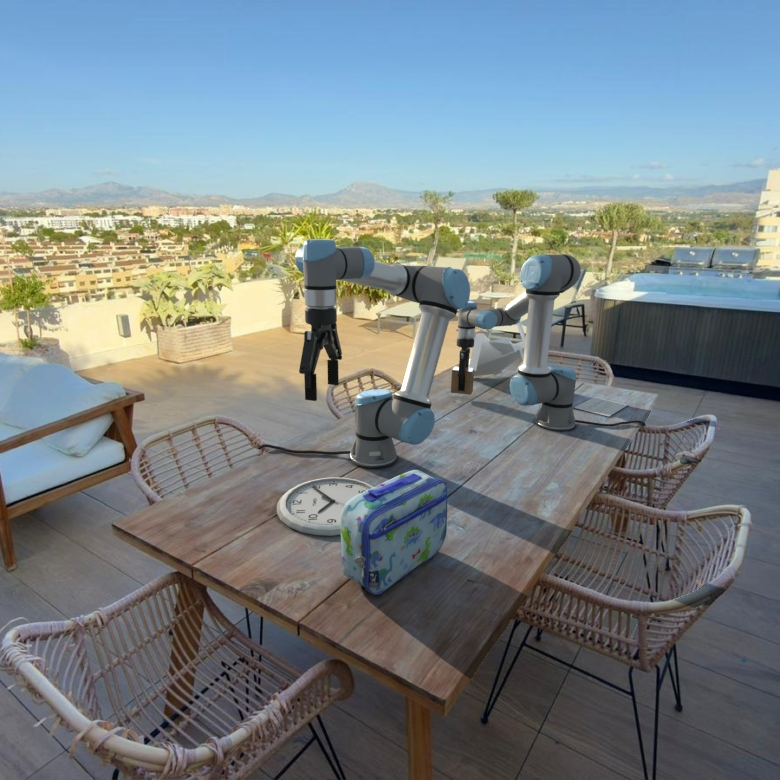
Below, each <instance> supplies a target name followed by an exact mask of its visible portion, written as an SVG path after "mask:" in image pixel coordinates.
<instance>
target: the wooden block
mask: <svg viewBox="0 0 780 780" xmlns="http://www.w3.org/2000/svg"><path fill="white" fill-rule="evenodd" d="M458 374H459V366H453V368H452V369H451V380H450V381H451V382H450V393H451V394H460V395H469V396H470V395H472V393H473V391H474V379H475V376H474V368H467V367H466V370H465V390H464V391H459V390H458V384H459V376H457V375H458Z"/></svg>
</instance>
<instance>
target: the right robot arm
mask: <svg viewBox="0 0 780 780" xmlns="http://www.w3.org/2000/svg"><path fill="white" fill-rule="evenodd" d="M581 275H582V268H581V264H580V262H579V260H578V259H577V258H576V257H574V256H572V255H571V254H563V253H561V254H543V253H542V254H536V255H531V256H530V257H529V258H527V260H525V261H524V263H523V264H522V266H521V269H520V273H519V281H520V283H521V286H522V287H523V288H524V289H525V291H524V292H523V293H521V294H520V295H519V296H517V297H516V298H515V299H513V300H512V301H510V302H509V303H508V304H506V305H505V306H503V307H499V308H484V309H482V308H478V303H477V302H476V301H473V300H468V303H467V304H466V305H465V307H464V308H462V309H458V310H457V314H458V315H457V328H456V329H455V331H456V332H457V333H456V334H457V336H456V337H457V338H456V346H457V347H458V348H461V349H460V350H459V355H458V356H459V360H458V367H459V374H458V375H457V376H459V384H458V390H459V391H464V390H465V370H466V367H467V368H469V359H470V355H471V354H470V353H471V348H473V346H474V341H475V336H476V328H479V329H481V330H489V331H490V330H492V329H493V328H495V327H507V326H508V327H511V326H515V325H517V324H518V323H519V321H521V319H522V317H524V316H525V315H527V318H526V328H525V347H524V358H523V361H522V363H521V365H519V366H517V374H516V375H514V376H513V377H512V378H511V379H510V381H509V391H510V394H511V397H513V400H514V401H515V402H516V403H517V404H519V405H521V406H524V407H527V406H535V405H539V407H538V410H537V411H536V413H535V415H534V424H535V425H536V426H537V427H539V428H542V429H544V430H549V431H556V432H567V431H572V430H574V429H575V428H576V423H577V424H586V425H592V426H597V427H598V426H599V427H617V426H620V425H630V424H640V425H642V426H643V427H646V426H647V425H646V423H645V422H644V421H641V420H636V419H633V420H628V421H619V422H615V423H601V422H593V421H587V420H578V419H576V418H575V417H576V416H575V413H574V407H573V405H574V398H575V391H576V383H577V372H576V371H575V370H574V369H572V368H571V367H570V368H569V367H566V366H561V365H554V364H548V360H549V351H550V344H551V335H552V325H553V317H554V308H555V300H556V299H557V298H558V297H560V294H563V293H565V292H566V291H569V290H570V289H571V288H573V287H574V286H575V285H576V283H578V282H579V280H580V278H581Z"/></svg>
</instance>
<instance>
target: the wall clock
mask: <svg viewBox="0 0 780 780" xmlns="http://www.w3.org/2000/svg"><path fill="white" fill-rule="evenodd" d="M373 487H375V485H372V484H371V483H369V482H365V481H362V480H359V479H355V478H349V477H338V476H337V477H335V476H333V477H332V476H331V477H322V478H317V479H312V480H307V481H305V482H302V483H299V484H297V485H295V486H293V487H292V488H290V489H288V490H287V491H286V492H285V493H284V494H283V495H281V496H280V498H279V499H278V502H277V503H276V515H277V517H278V518H279V520H280V521H281V522H282V523H283V524H285V525H286V526H287V527H288V528H290V529H293V530H295V531H297V532H299V533H303V534H308V535H312V536H327V537H328V536H329V537H331V536H332V537H333V536H341V533H340V519H341V513H342V510H343V508H344V506H345V505H346V503H347V502H348V501H349V500H350V499H351V498H353V497H355V496H356V495H358V494H361V493H363V492H365V491H367V490H369V489H371V488H373Z"/></svg>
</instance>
